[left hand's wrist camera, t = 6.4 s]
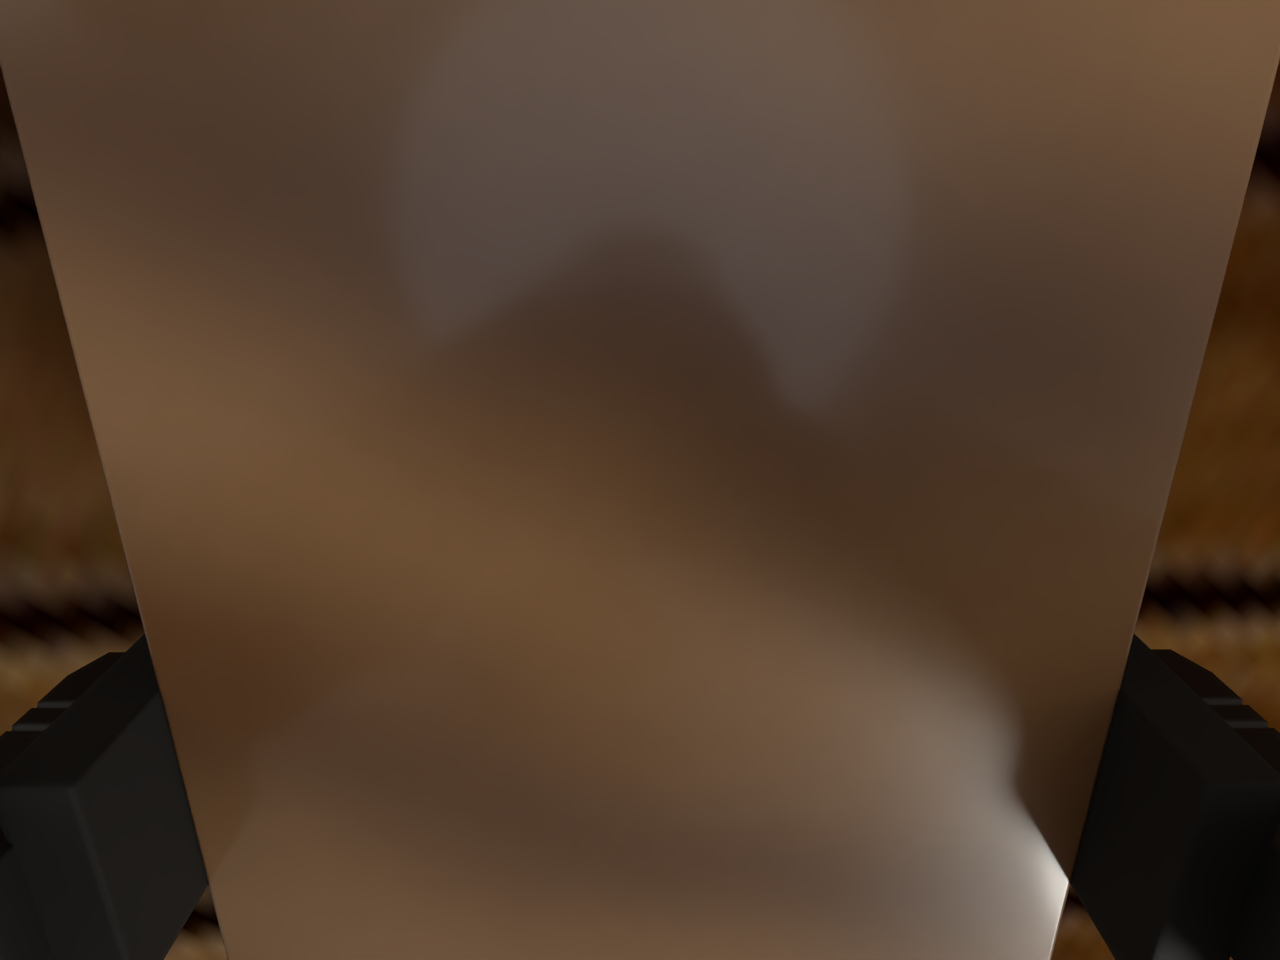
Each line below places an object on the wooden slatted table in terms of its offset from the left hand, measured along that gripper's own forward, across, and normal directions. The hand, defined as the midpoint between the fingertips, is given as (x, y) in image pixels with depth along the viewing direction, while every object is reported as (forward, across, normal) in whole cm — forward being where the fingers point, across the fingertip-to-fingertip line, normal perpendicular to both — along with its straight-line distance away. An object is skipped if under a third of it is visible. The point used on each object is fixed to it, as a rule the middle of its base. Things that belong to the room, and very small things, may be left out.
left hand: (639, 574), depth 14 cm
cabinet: (+3, 0, -6) cm, 7 cm away
